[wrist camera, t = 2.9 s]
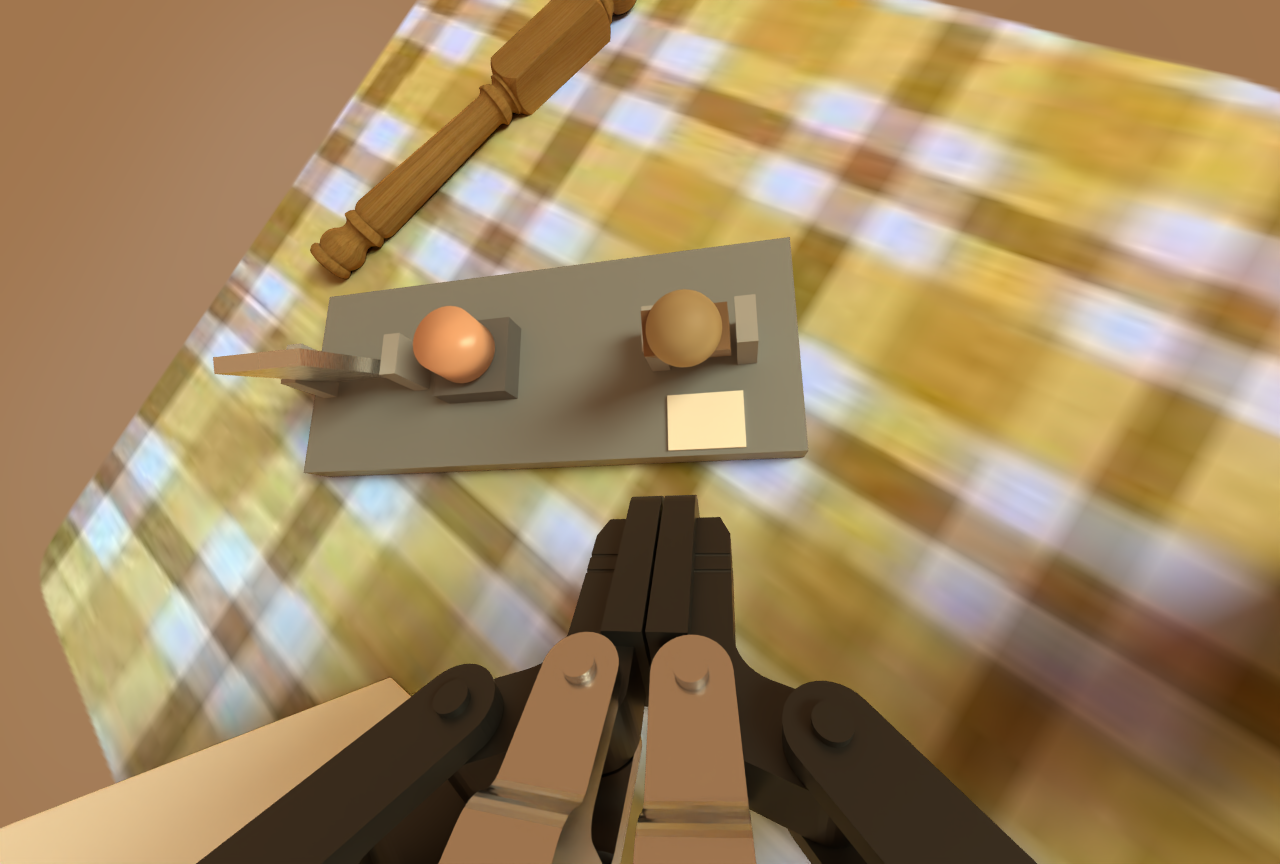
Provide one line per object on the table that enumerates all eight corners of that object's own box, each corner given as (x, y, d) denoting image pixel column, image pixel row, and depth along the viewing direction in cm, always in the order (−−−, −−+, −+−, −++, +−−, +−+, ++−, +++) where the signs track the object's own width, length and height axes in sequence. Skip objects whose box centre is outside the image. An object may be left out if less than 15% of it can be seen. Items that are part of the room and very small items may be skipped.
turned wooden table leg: (298, 239, 33) (612, -58, 33) (334, 264, 36) (623, -10, 36) (318, 265, 32) (640, -41, 32) (353, 288, 35) (649, 8, 35)
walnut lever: (731, 365, 25) (729, 363, 15) (675, 369, 26) (635, 370, 16) (729, 314, 25) (725, 277, 15) (672, 320, 26) (629, 288, 15)
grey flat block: (403, 376, 29) (301, 365, 22) (333, 382, 30) (214, 373, 23) (403, 362, 29) (299, 348, 22) (332, 369, 30) (213, 357, 23)
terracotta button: (492, 380, 26) (473, 367, 24) (433, 385, 27) (409, 373, 25) (497, 319, 27) (477, 302, 25) (439, 325, 27) (416, 309, 26)
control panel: (803, 457, 26) (817, 438, 21) (330, 476, 32) (256, 465, 27) (786, 257, 28) (795, 200, 24) (352, 310, 34) (289, 273, 30)
